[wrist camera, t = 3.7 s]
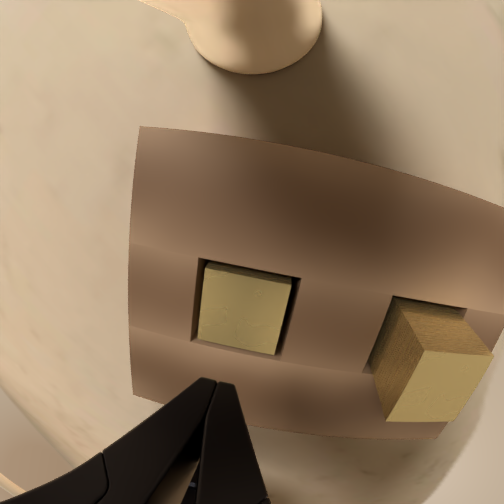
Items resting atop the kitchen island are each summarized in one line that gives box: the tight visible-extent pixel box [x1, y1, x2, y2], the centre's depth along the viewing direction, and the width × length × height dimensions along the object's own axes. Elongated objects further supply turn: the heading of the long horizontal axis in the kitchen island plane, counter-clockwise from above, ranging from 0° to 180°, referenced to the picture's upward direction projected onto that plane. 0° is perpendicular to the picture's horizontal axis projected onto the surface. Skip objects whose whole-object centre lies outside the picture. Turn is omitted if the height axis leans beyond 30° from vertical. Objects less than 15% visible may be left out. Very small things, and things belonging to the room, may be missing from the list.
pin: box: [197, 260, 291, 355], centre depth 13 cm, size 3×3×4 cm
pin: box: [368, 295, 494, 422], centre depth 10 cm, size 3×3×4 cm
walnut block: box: [128, 126, 504, 439], centre depth 13 cm, size 12×16×4 cm
